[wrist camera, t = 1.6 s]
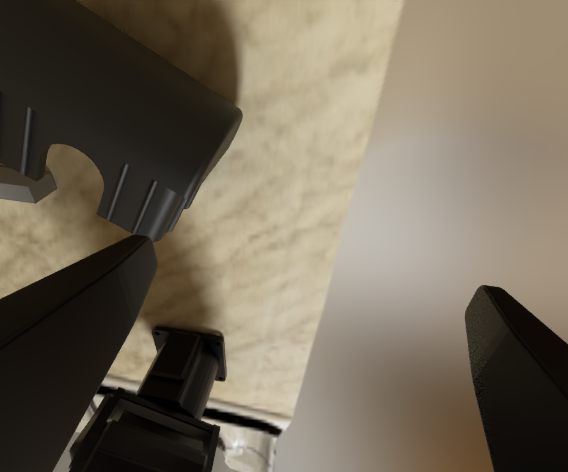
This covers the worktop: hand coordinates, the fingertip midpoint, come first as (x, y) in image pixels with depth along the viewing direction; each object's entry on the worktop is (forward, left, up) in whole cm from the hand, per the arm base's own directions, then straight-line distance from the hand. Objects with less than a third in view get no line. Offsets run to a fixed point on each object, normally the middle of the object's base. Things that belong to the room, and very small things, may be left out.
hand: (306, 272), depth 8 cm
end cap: (0, +10, -13) cm, 16 cm away
